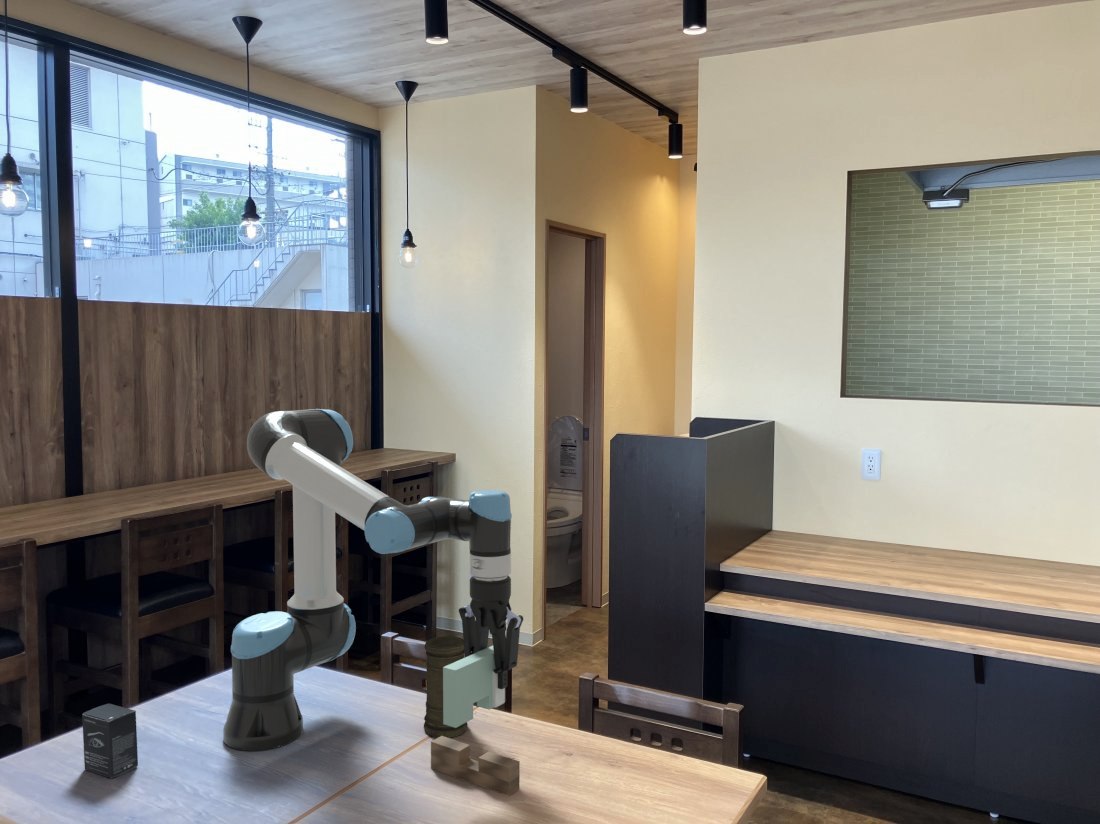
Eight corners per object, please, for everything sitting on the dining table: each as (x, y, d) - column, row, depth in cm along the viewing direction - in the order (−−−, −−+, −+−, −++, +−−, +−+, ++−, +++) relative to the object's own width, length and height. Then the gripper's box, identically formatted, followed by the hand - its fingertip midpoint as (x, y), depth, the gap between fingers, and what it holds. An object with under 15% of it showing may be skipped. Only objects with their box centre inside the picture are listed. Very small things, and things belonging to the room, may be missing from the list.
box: (138, 767, 155) (137, 709, 154) (110, 780, 150) (109, 720, 149) (111, 757, 159) (110, 701, 158) (82, 769, 154) (81, 712, 153)
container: (460, 740, 167) (460, 651, 166) (417, 735, 169) (417, 647, 168) (473, 721, 176) (473, 636, 175) (432, 717, 178) (432, 633, 177)
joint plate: (455, 727, 144) (455, 670, 144) (443, 724, 146) (443, 667, 145) (505, 701, 156) (504, 648, 155) (493, 698, 157) (492, 645, 157)
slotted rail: (430, 768, 155) (430, 741, 155) (441, 761, 158) (441, 735, 157) (509, 796, 145) (509, 768, 145) (519, 789, 148) (519, 761, 147)
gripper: (443, 574, 155) (444, 699, 156) (513, 586, 146) (513, 719, 147) (469, 566, 161) (470, 687, 162) (537, 577, 152) (538, 705, 153)
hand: (490, 702), depth 154 cm, fingers closed on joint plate, 3 cm apart
